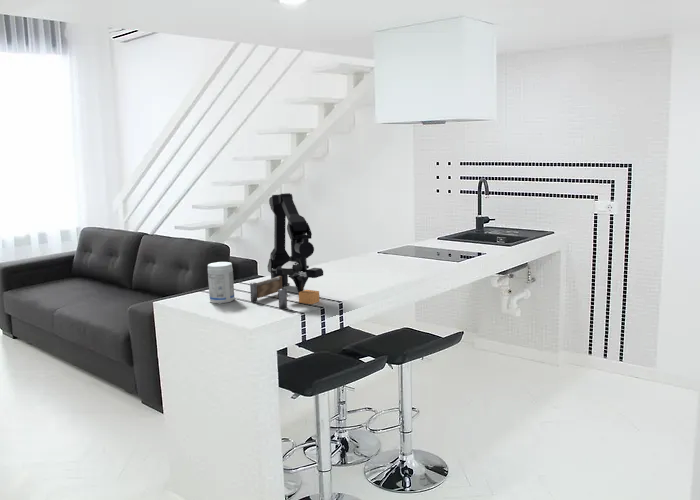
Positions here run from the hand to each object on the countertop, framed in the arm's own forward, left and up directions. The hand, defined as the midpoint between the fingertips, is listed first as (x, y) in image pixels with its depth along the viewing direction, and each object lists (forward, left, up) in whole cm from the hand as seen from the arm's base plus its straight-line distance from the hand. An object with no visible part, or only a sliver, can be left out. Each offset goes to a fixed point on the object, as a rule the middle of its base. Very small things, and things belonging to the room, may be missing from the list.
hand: (300, 293), depth 251 cm
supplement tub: (-28, -14, -3) cm, 31 cm away
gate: (-16, 0, -3) cm, 16 cm away
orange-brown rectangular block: (+4, +1, -3) cm, 5 cm away
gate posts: (-7, -10, -3) cm, 13 cm away
